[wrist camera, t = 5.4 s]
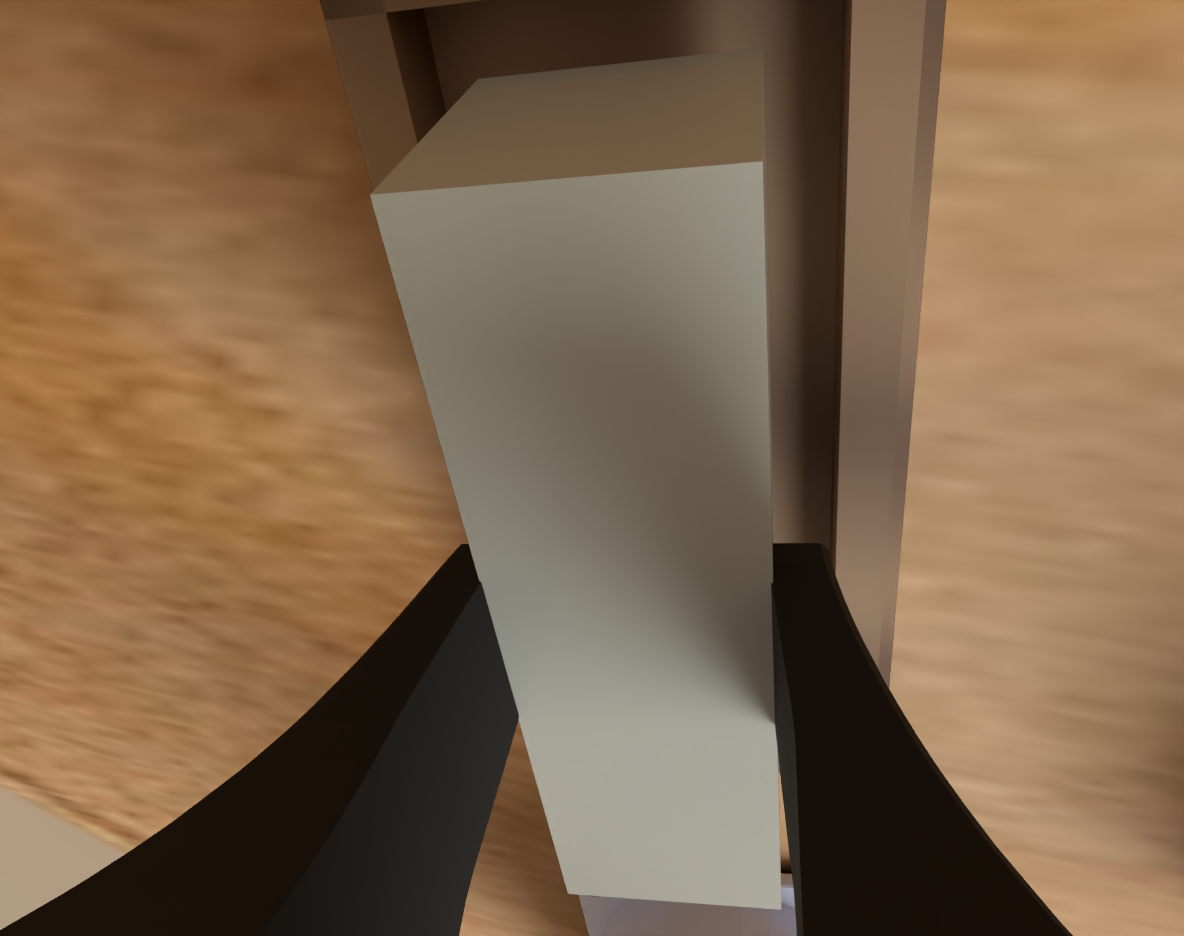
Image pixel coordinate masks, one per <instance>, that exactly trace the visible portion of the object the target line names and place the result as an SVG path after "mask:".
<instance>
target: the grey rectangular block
mask: <svg viewBox="0 0 1184 936" xmlns="http://www.w3.org/2000/svg"><path fill="white" fill-rule="evenodd" d="M370 198H371V201H372V205H373V208H374V212H375V215H376V219H377V222H378V226H379V229H380V233H381V236H382V240H383V243H384V247H385V250H386V254H387V257H388V261H389V265H390V268H391V272H392V275H393V279H394V282H395V286H396V289H397V293H398V296H399V300H400V303H401V307H402V310H403V314H404V317H405V321H406V324H407V328H408V332H409V335H410V339H411V342H412V346H413V349H414V353H415V356H416V360H417V363H418V367H419V370H420V374H421V377H422V381H423V384H424V388H425V391H426V395H427V399H428V402H429V406H430V409H431V413H432V416H433V420H434V423H435V427H436V430H437V434H438V437H439V441H440V444H441V448H442V451H443V455H444V458H445V462H446V465H447V469H448V473H449V476H450V480H451V483H452V487H453V490H454V494H455V497H456V501H457V504H458V508H459V511H460V515H461V518H462V522H463V525H464V529H465V532H466V536H467V540H468V543H469V547H470V550H471V554H472V557H473V561H474V564H475V568H476V571H477V575H478V578H479V582H482V586H483V590H484V593H485V597H486V600H487V604H488V607H489V611H490V614H491V618H492V621H493V625H494V629H495V632H496V636H497V639H498V643H499V646H500V650H501V653H502V657H503V660H504V664H505V668H506V671H507V675H508V678H509V682H510V685H511V689H512V692H513V696H514V699H515V703H516V707H517V710H518V714H519V718H518V719H519V723H520V726H521V730H522V733H523V737H524V741H525V744H526V748H527V751H528V755H529V758H530V762H531V765H532V769H533V772H534V776H535V779H536V783H537V786H538V790H539V793H540V797H541V800H542V804H543V807H544V811H545V815H546V818H547V822H548V825H549V829H550V832H551V836H552V839H553V843H554V846H555V850H556V853H557V857H558V860H559V864H560V867H561V871H562V874H563V878H564V882H565V885H566V889H567V892H568V894H576V895H590V896H603V897H617V898H630V899H643V900H657V901H670V902H684V903H697V904H711V905H724V906H737V907H751V908H764V909H778V910H781V858H780V800H779V757H778V749H777V740H776V731H775V708H774V671H773V633H772V596H771V583H773V543H774V519H773V476H772V434H771V391H770V348H769V305H768V263H767V220H766V177H765V134H764V92H763V49H762V48H756V49H747V50H738V51H729V52H719V53H710V54H701V55H692V56H683V57H674V58H665V59H655V60H646V61H637V62H628V63H619V64H610V65H601V66H592V67H582V68H573V69H564V70H555V71H546V72H537V73H528V74H518V75H509V76H500V77H491V78H482V79H478V80H477V81H476V82H475V83H474V84H473V85H472V86H471V87H470V88H469V89H468V90H467V91H466V92H465V93H464V94H463V96H462V97H461V98H460V99H459V100H458V101H457V102H456V103H455V104H454V105H453V106H452V107H451V108H450V109H449V111H448V112H447V113H446V114H445V115H444V116H443V117H442V118H441V119H440V120H439V121H438V122H437V123H436V124H435V126H434V127H433V128H432V129H431V130H430V131H429V132H428V133H427V134H426V135H425V136H424V137H423V138H422V139H421V140H420V142H419V143H418V144H417V145H416V146H415V147H414V148H413V149H412V150H411V151H410V152H409V153H408V154H407V155H406V157H405V158H404V159H403V160H402V161H401V162H400V163H399V164H398V165H397V166H396V167H395V168H394V169H393V170H392V172H391V173H390V174H389V175H388V176H387V177H386V178H385V179H384V180H383V181H382V182H381V183H380V184H379V185H378V186H377V188H376V189H375V190H374V191H373V192H372V193H371V194H370Z"/></svg>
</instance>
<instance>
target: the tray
mask: <svg viewBox="0 0 1184 936" xmlns="http://www.w3.org/2000/svg"><path fill="white" fill-rule="evenodd" d="M320 3H321V7H322V10H323V14H324V17H325V21H326V25H327V28H328V32H329V35H330V39H331V43H332V46H333V50H334V53H335V57H336V61H337V64H338V68H339V71H340V75H341V79H342V82H343V86H344V89H345V93H346V97H347V100H348V104H349V107H350V111H351V115H352V118H353V122H354V125H355V129H356V133H357V136H358V140H359V143H360V147H361V151H362V154H363V158H364V161H365V165H366V169H367V172H368V176H369V179H370V183H371V187H372V190H373V191H374V190H375V189H376V188H377V186H378V185H379V184H380V183H381V182H382V181H383V180H384V179H385V178H386V177H387V176H388V175H389V174H390V173H391V172H392V170H393V169H394V168H395V167H396V166H397V165H398V164H399V163H400V162H401V161H402V160H403V159H404V158H405V157H406V155H407V154H408V153H409V152H410V151H411V150H412V149H413V148H414V147H415V146H416V145H417V144H418V143H419V142H420V140H421V139H422V138H423V137H424V136H425V135H426V134H427V133H428V132H429V131H430V130H431V129H432V128H433V127H434V126H435V124H436V123H437V122H438V121H439V120H440V119H441V118H442V117H443V116H444V115H445V114H446V113H447V112H448V111H449V109H450V108H451V107H452V106H453V105H454V104H455V103H456V102H457V101H458V100H459V99H460V98H461V97H462V96H463V94H464V93H465V92H466V91H467V90H468V89H469V88H470V87H471V86H472V85H473V84H474V83H475V82H476V81H477V80H478V79H482V78H491V77H500V76H509V75H518V74H528V73H537V72H546V71H555V70H564V69H573V68H582V67H592V66H601V65H610V64H619V63H628V62H637V61H646V60H655V59H665V58H674V57H683V56H692V55H701V54H710V53H719V52H729V51H738V50H747V49H756V48H762V49H763V92H764V134H765V177H766V220H767V263H768V305H769V348H770V391H771V434H772V476H773V519H774V543H821V544H822V545H823V546H824V547H826V548H827V549H828V550H829V553H830V558H831V562H832V565H833V568H834V572H835V575H836V578H837V581H838V583H839V586H840V589H841V591H842V594H843V596H844V599H845V601H846V604H847V606H848V608H849V611H850V613H851V615H852V617H853V620H854V622H855V624H856V626H857V628H858V630H859V633H860V635H861V637H862V639H863V641H864V643H865V645H866V647H867V649H868V650H869V652H870V654H871V656H872V658H873V660H874V662H875V664H876V666H877V668H878V669H879V671H880V673H881V675H882V677H883V679H884V681H885V683H886V684H887V686H888V688H889V683H890V671H891V659H892V647H893V635H894V623H895V611H896V599H897V587H898V575H899V563H900V551H901V539H902V527H903V515H904V503H905V491H906V479H907V467H908V455H909V443H910V431H911V419H912V407H913V395H914V383H915V371H916V359H917V347H918V335H919V323H920V311H921V299H922V287H923V275H924V263H925V251H926V239H927V227H928V215H929V203H930V191H931V179H932V167H933V155H934V143H935V131H936V119H937V107H938V95H939V83H940V71H941V59H942V47H943V35H944V23H945V11H946V0H320ZM779 772H780V766H779Z"/></svg>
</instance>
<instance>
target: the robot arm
mask: <svg viewBox="0 0 1184 936" xmlns="http://www.w3.org/2000/svg"><path fill="white" fill-rule="evenodd" d="M771 596H772V633H773V671H774V708H775V731H776V740H777V749H778V757H779V766H780V775H781V784H782V793H783V801H784V810H785V819H786V828H787V837H788V845H789V854H790V863H791V872H792V874H784V873H781V910H778V909H764V908H751V907H737V906H724V905H711V904H697V903H684V902H670V901H657V900H643V899H630V898H617V897H603V896H590V895H578V896H579V899H580V903H581V907H582V911H583V914H584V918H585V922H586V926H587V929H588V933H589V936H1073V935H1072V934H1071V933H1070V932H1069V931H1068V930H1067V929H1066V928H1065V927H1064V926H1063V925H1062V923H1061V922H1060V921H1059V920H1058V919H1057V918H1056V916H1055V915H1054V914H1053V913H1052V912H1051V910H1050V909H1049V908H1048V907H1047V906H1046V905H1045V903H1044V902H1043V901H1042V900H1041V899H1040V897H1039V896H1038V895H1037V894H1036V893H1035V892H1034V890H1033V889H1032V888H1031V887H1030V886H1029V884H1028V883H1027V882H1026V881H1025V880H1024V879H1023V877H1022V876H1021V875H1020V874H1019V873H1018V871H1017V870H1016V869H1015V868H1014V867H1013V866H1012V864H1011V863H1010V862H1009V861H1008V860H1007V858H1006V857H1005V856H1004V855H1003V854H1002V853H1001V851H1000V850H999V849H998V848H997V846H996V845H995V844H994V843H993V841H992V840H991V839H990V837H989V836H988V835H987V834H986V832H985V831H984V830H983V828H982V827H981V826H980V824H979V823H978V822H977V820H976V819H975V818H974V816H973V815H972V814H971V813H970V811H969V810H968V809H967V807H966V806H965V805H964V803H963V802H962V800H961V799H960V798H959V796H958V795H957V793H956V792H955V791H954V789H953V788H952V786H951V785H950V784H949V782H948V781H947V779H946V778H945V777H944V775H943V774H942V772H941V771H940V770H939V768H938V767H937V765H936V764H935V762H934V761H933V759H932V758H931V756H930V755H929V753H928V752H927V750H926V749H925V747H924V745H923V744H922V742H921V741H920V739H919V738H918V736H917V735H916V733H915V731H914V730H913V728H912V726H911V725H910V723H909V722H908V720H907V718H906V717H905V715H904V713H903V712H902V710H901V708H900V707H899V705H898V704H897V702H896V700H895V698H894V697H893V695H892V693H891V691H890V690H889V688H888V686H887V684H886V683H885V681H884V679H883V677H882V675H881V673H880V671H879V669H878V668H877V666H876V664H875V662H874V660H873V658H872V656H871V654H870V652H869V650H868V649H867V647H866V645H865V643H864V641H863V639H862V637H861V635H860V633H859V630H858V628H857V626H856V624H855V622H854V620H853V617H852V615H851V613H850V611H849V608H848V606H847V604H846V601H845V599H844V596H843V594H842V591H841V589H840V586H839V583H838V581H837V578H836V575H835V572H834V568H833V565H832V562H831V558H830V553H829V550H828V549H827V548H826V547H824V546H823V545H822V544H821V543H773V583H771ZM518 718H519V714H518V710H517V707H516V703H515V699H514V696H513V692H512V689H511V685H510V682H509V678H508V675H507V671H506V668H505V664H504V660H503V657H502V653H501V650H500V646H499V643H498V639H497V636H496V632H495V629H494V625H493V621H492V618H491V614H490V611H489V607H488V604H487V600H486V597H485V593H484V590H483V586H482V582H479V578H478V575H477V571H476V568H475V564H474V561H473V557H472V554H471V550H470V547H469V544H461V545H460V546H459V547H458V548H457V549H456V551H455V552H454V553H453V554H452V555H451V556H450V557H449V558H448V559H447V561H446V562H445V563H444V564H443V565H442V566H441V567H440V569H439V570H438V571H437V572H436V573H435V574H434V576H433V577H432V578H431V579H430V580H429V581H428V583H427V584H426V585H425V586H424V587H423V588H422V590H421V591H420V592H419V593H418V594H417V595H416V597H415V598H414V599H413V600H412V601H411V602H410V603H409V605H408V606H407V607H406V608H405V609H404V610H403V612H402V613H401V614H400V615H399V616H398V617H397V618H396V619H395V621H394V622H393V623H392V624H391V625H390V626H389V627H388V628H387V629H386V630H385V632H384V633H383V634H382V635H381V636H380V637H379V638H378V639H377V640H376V641H375V643H374V644H373V645H372V646H371V647H370V648H369V649H368V650H367V651H366V653H365V654H364V655H363V656H362V657H361V658H360V659H359V660H358V661H357V662H356V663H355V664H354V665H353V666H352V667H351V668H350V669H349V670H348V671H347V672H346V673H345V674H344V675H343V676H342V677H341V678H340V679H339V680H338V681H337V682H336V683H335V684H334V685H333V686H332V687H331V688H330V690H329V691H328V692H327V693H326V694H325V695H324V696H323V697H322V698H321V699H320V700H319V701H318V702H317V703H316V704H315V705H314V706H313V707H312V708H310V709H309V710H308V711H307V712H306V713H305V714H304V715H303V716H302V717H301V718H300V719H299V720H298V721H297V722H296V723H295V724H293V725H292V726H291V727H290V728H289V729H288V730H287V731H286V732H285V733H284V734H282V735H281V736H280V737H279V738H278V739H277V740H276V741H274V742H273V743H272V744H271V745H270V746H269V747H267V748H266V749H265V750H264V751H263V752H262V753H260V754H259V755H258V756H257V757H256V758H255V759H253V760H252V761H251V762H250V763H249V764H247V765H246V766H245V767H244V768H242V769H241V770H240V771H239V772H238V773H236V774H235V775H234V776H232V777H231V778H230V779H228V780H227V781H226V782H224V783H223V784H222V785H221V786H219V787H218V788H217V789H215V790H214V791H213V792H211V793H210V794H209V795H207V796H206V797H205V798H203V799H202V800H201V801H199V802H198V803H197V804H195V805H194V806H193V807H192V808H190V809H189V810H188V811H186V812H185V813H184V814H182V815H181V816H180V817H178V818H177V819H176V820H174V821H173V822H172V823H170V824H169V825H167V826H166V827H165V828H163V829H162V830H160V831H159V832H157V833H156V834H154V835H153V836H152V837H150V838H149V839H147V840H146V841H144V842H143V843H141V844H140V845H138V846H137V847H135V848H134V849H133V850H131V851H130V852H128V853H127V854H125V855H123V856H122V857H120V858H119V859H117V860H116V861H114V862H113V863H111V864H110V865H108V866H107V867H105V868H103V869H102V870H100V871H99V872H98V873H96V874H94V875H93V876H91V877H90V878H88V879H87V880H85V881H83V882H82V883H80V884H78V885H77V886H75V887H73V888H72V889H70V890H68V891H67V892H65V893H64V894H62V895H60V896H58V897H57V898H55V899H53V900H52V901H50V902H48V903H46V904H45V905H43V906H41V907H39V908H38V909H36V910H34V911H33V912H31V913H29V914H27V915H26V916H24V917H22V918H21V919H19V920H17V921H15V922H14V923H12V924H10V925H8V926H7V927H5V928H3V929H2V930H0V936H459V932H460V927H461V922H462V917H463V912H464V907H465V902H466V898H467V894H468V890H469V886H470V882H471V878H472V874H473V870H474V867H475V863H476V860H477V857H478V853H479V850H480V847H481V843H482V840H483V837H484V833H485V830H486V827H487V823H488V820H489V817H490V813H491V810H492V807H493V803H494V800H495V797H496V793H497V790H498V787H499V784H500V780H501V777H502V774H503V770H504V767H505V763H506V760H507V757H508V753H509V750H510V746H511V743H512V740H513V736H514V733H515V729H516V726H517V722H518Z"/></svg>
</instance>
